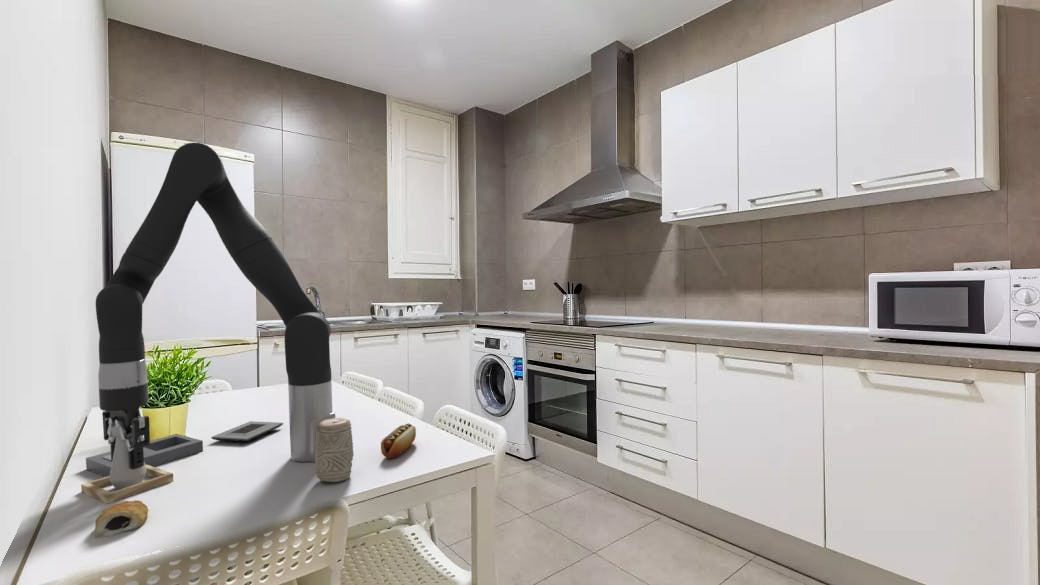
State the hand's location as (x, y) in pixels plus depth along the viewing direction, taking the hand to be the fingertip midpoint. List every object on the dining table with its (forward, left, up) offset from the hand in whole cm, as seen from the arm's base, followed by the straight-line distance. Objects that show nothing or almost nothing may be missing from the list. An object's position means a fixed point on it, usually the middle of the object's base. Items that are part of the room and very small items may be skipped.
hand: (127, 464), depth 95 cm
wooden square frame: (0, 0, -4) cm, 4 cm away
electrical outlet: (+8, -30, -5) cm, 32 cm away
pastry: (-17, +8, -5) cm, 20 cm away
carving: (-36, -21, -5) cm, 42 cm away
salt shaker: (0, 0, -5) cm, 5 cm away
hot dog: (-37, -39, -5) cm, 54 cm away
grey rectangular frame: (+13, -9, -4) cm, 17 cm away
